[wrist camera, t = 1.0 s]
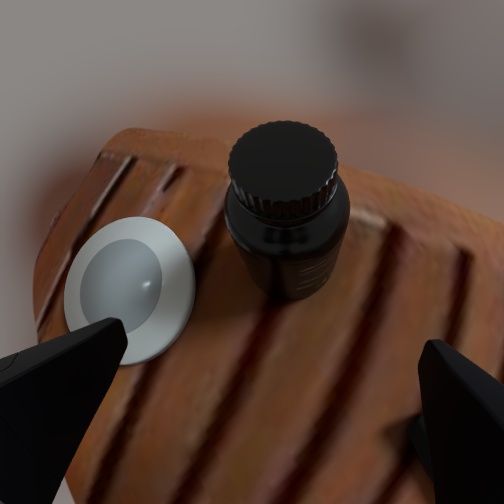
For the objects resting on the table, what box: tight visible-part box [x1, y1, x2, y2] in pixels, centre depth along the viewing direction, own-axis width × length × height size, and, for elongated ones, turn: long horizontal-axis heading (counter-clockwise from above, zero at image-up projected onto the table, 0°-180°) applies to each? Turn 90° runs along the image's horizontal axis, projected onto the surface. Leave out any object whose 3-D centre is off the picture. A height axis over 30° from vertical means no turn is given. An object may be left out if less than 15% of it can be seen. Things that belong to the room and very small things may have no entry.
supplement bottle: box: [224, 121, 350, 300], centre depth 17 cm, size 7×7×12 cm
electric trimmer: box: [407, 414, 434, 483], centre depth 12 cm, size 4×16×3 cm, turn 33°
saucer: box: [64, 217, 196, 366], centre depth 23 cm, size 13×13×2 cm
